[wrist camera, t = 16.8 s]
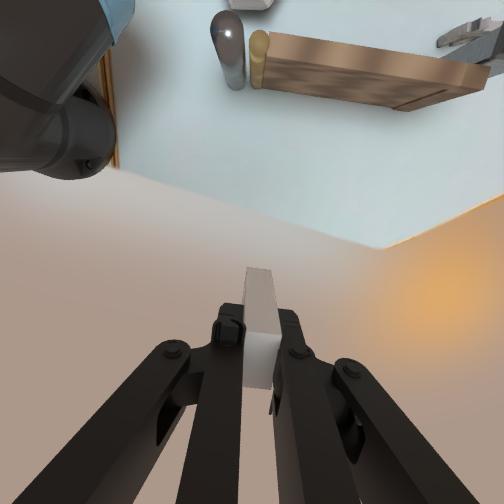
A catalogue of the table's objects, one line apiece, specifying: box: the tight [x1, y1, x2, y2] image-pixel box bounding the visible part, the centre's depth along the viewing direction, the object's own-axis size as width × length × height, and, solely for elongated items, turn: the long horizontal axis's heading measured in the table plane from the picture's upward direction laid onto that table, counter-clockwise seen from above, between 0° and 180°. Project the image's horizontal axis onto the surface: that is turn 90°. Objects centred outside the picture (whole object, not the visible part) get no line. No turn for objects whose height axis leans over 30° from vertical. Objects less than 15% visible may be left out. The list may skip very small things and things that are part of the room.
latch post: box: [440, 21, 504, 78], centre depth 32 cm, size 4×3×17 cm, turn 82°
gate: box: [249, 30, 491, 112], centre depth 33 cm, size 24×2×14 cm, turn 82°
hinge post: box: [210, 10, 247, 91], centre depth 32 cm, size 3×3×16 cm
